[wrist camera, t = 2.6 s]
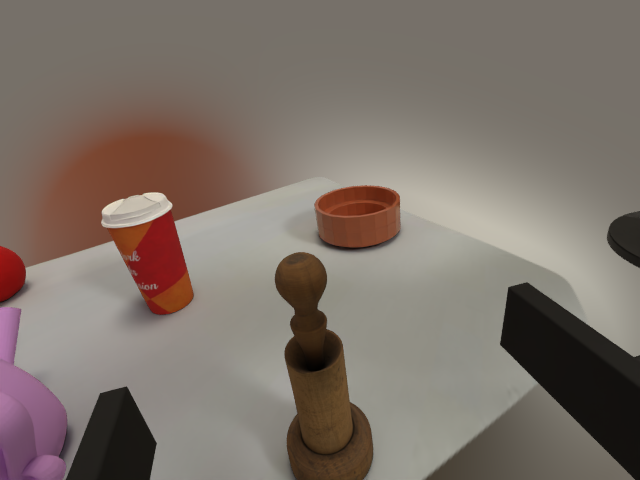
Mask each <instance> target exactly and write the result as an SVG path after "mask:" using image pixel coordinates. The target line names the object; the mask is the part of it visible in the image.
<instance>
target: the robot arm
mask: <svg viewBox="0 0 640 480" xmlns="http://www.w3.org/2000/svg"><path fill="white" fill-rule="evenodd" d="M500 345H501V346H502V347H503V348H504V349H505V350H506V351H507V352H508V353H509V354H510V355H511V356H512V357H513V358H514V359H515V360H516V361H517V362H518V363H519V364H520V365H521V366H522V367H523V368H524V369H525V370H526V371H527V372H528V373H529V374H530V375H531V376H532V377H533V378H534V379H535V380H536V381H537V382H538V383H539V384H540V385H541V386H542V387H543V388H544V389H545V390H546V391H547V392H548V393H549V394H550V395H551V396H552V397H553V398H554V399H555V400H556V401H557V402H558V403H559V404H560V405H561V406H562V407H563V408H564V409H565V410H566V411H567V412H568V413H569V414H570V415H571V416H572V417H573V418H574V419H575V420H576V421H577V422H578V423H579V424H580V425H581V426H582V427H583V428H584V429H585V430H586V431H587V432H588V433H589V434H590V435H591V436H592V437H593V438H594V439H595V440H596V441H597V442H598V443H599V444H600V445H601V446H602V447H603V448H604V449H605V450H606V451H607V452H608V453H609V454H610V455H611V456H612V457H613V458H614V459H615V460H616V461H617V462H618V463H619V464H620V465H621V466H622V467H623V468H624V469H625V470H626V471H627V472H628V473H629V474H630V475H631V476H632V477H633V478H634V479H635V480H640V355H639V356H636V357H633V356H631V355H630V354H628V353H627V352H626V351H624V350H623V349H621V348H620V347H618V346H617V345H616V344H614V343H613V342H611V341H610V340H608V339H607V338H606V337H604V336H603V335H601V334H600V333H598V332H597V331H596V330H594V329H593V328H591V327H590V326H589V325H587V324H586V323H584V322H583V321H581V320H580V319H579V318H577V317H576V316H574V315H573V314H571V313H570V312H569V311H567V310H566V309H564V308H563V307H561V306H560V305H559V304H557V303H556V302H554V301H553V300H551V299H550V298H549V297H547V296H546V295H544V294H543V293H541V292H540V291H539V290H537V289H536V288H534V287H533V286H531V285H530V284H529V283H523V284H519V285H515V286H511V287H508V294H507V301H506V308H505V315H504V322H503V329H502V335H501V342H500ZM156 444H157V443H156V441H155V439H154V437H153V435H152V434H151V432H150V430H149V428H148V426H147V424H146V422H145V420H144V418H143V416H142V414H141V413H140V411H139V409H138V407H137V405H136V403H135V401H134V399H133V397H132V395H131V393H130V392H129V390H128V388H127V387H123V388H119V389H115V390H111V391H108V392H104V393H100V395H99V398H98V400H97V403H96V405H95V408H94V410H93V413H92V415H91V418H90V420H89V423H88V425H87V428H86V430H85V433H84V436H83V438H82V441H81V443H80V446H79V448H78V451H77V453H76V456H75V458H74V461H73V463H72V466H71V468H70V471H69V473H68V476H67V478H66V480H150V475H151V470H152V465H153V460H154V454H155V449H156Z"/></svg>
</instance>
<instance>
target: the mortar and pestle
mask: <svg viewBox="0 0 640 480" xmlns="http://www.w3.org/2000/svg"><path fill="white" fill-rule="evenodd" d="M275 284H276V288H277V290H278V292H279V294H280V295H281V296H282V297H283V298H284V299H285V300H286V301H287V302H288V303H289V304H290V305H291V306H292V307H293V308H294V310H295V315H294V316H293V317H292V319H291V321H290V326H291V329H292V331H293V334H294V337H293V338H292V339H291V340H290V341H289V342H288V344H287V346H286V348H285V361H286V365H287V369H288V373H289V377H290V381H291V385H292V390H293V394H294V399H295V403H296V408H297V413H298V414H297V415H296V416H295V418H294V419H293V421H292V422H291V425H290V427H289V430H288V434H287V451H288V455H289V459H290V464H291V468H292V471H293V473H294V475H295V477H296V478H297V480H363V479H364V477H365V476H366V474H367V473H368V471H369V469H370V466H371V463H372V458H373V443H372V434H371V428H370V424H369V422H368V419H367V418H366V416H365V414H364V413H363V412H362V411H361V410H360V409H359V408H358V407H357V406H356V405H354V404H352V403H351V402H350V401H349V393H348V385H347V376H346V368H345V360H344V351H343V344H342V341H341V339H340V338H339V337H338V335H336V334H335V333H334V332H332V331H330V330H327V329H326V327H327V318H326V315H325V314H324V313H323V312H321V311H319V310H318V309H317V307H318V302H319V300H320V298H321V296H322V294H323V292H324V290H325V287H326V284H327V274H326V270H325V268H324V266H323V264H322V263H321V261H320V260H319V259H318V258H317V257H315V256H314V255H312V254H309V253H304V252H298V253H294V254H291V255H289V256H287V257H286V258H284V259H283V260H282V261H281V262H280V264H279V265H278V267H277V270H276V274H275Z"/></svg>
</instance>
